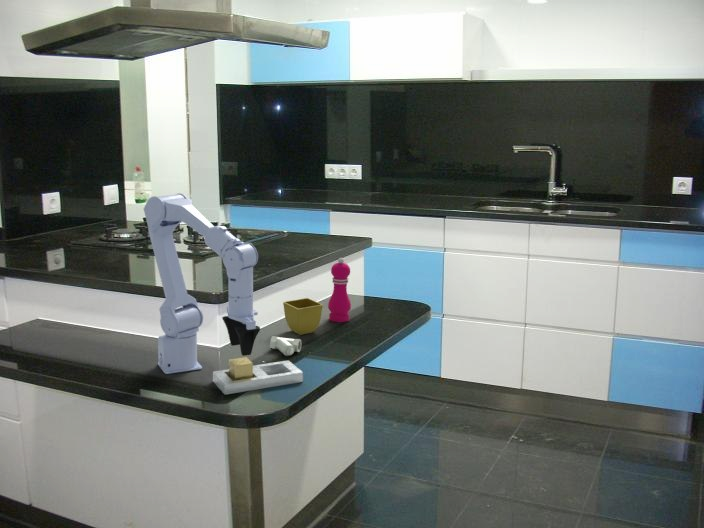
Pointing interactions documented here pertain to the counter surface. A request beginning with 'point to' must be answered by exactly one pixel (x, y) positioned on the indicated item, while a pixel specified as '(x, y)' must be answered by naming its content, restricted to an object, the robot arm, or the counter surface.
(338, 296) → the pepper mill
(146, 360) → the counter surface
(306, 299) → the flower pot
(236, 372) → the wooden block
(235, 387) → the white block holder tray
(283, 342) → the pipe fitting
